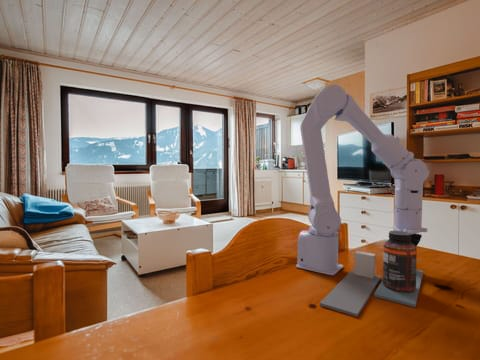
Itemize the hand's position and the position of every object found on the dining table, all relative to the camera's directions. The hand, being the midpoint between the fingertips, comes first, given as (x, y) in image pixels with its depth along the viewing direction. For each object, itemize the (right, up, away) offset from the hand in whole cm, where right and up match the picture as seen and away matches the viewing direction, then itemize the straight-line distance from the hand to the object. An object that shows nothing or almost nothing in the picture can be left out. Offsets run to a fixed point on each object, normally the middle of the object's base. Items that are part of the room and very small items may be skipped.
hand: (406, 264), depth 67 cm
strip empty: (-17, -2, -11) cm, 20 cm away
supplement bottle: (-8, -2, -10) cm, 13 cm away
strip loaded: (-5, -2, -7) cm, 9 cm away
